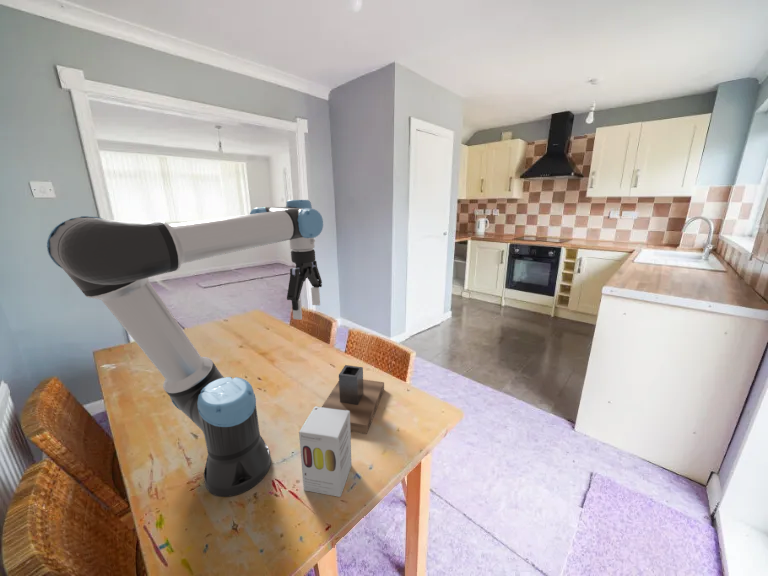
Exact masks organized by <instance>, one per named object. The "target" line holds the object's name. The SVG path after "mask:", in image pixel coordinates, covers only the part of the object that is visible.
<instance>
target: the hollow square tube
mask: <svg viewBox="0 0 768 576" xmlns="http://www.w3.org/2000/svg"><path fill="white" fill-rule="evenodd" d="M363 380H364V367H363V366H355V365H349V364H348V365H346V364H345V365H344V366H343V368H342V369H341V370H340V372H339V373H338V381H339V391H340V402H341V403H348V404H354V405H358V404H359V402H360V400H361V398H362V396H363V394H364V393H363Z"/></svg>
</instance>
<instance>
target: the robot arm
mask: <svg viewBox="0 0 768 576" xmlns="http://www.w3.org/2000/svg"><path fill="white" fill-rule="evenodd" d="M323 228H324V219H323V217H322V214H321V213H320V212H319V211H318V210H317V209H314V208H313V207H312V202H311V200H309V199H288V200H287V201H286V205H285V206H268V207H267V206H262V207H254V208H252V210H251V211H250V212H249V214H243V215H235V216H227V217H226V216H225V217H218V218H210V219H204V220H202V219H201V220H195V221H187V222H179V223H170V224H168V223H167V222H165V221H164V220H161V219H157V220H149V221H125V220H124V221H123V220H114V219H108V218H102V217H98V216H92V215H91V216H90V215H82V216H78V217H71V218H69V219H67V220H64V221H62V222H60V223H58V224H56V226H55V227H54V228H53V229H52V230H51V232H50V233H49V234H48V237H47V241H46V248H47V254H48V255H49V258H50V259H51V260H52V262H53V263H54V264H55V265H56V266H58V267H59V268H61V269H63V270H64V272H65V273H66V275H68V276H69V278H70V279H71V281H72V282H74V284H75V285H76V287H78V289H79V290H80V291H81V292H82V293H83V295H84V296H85V297H86V298H89V299H96V300H101V301H102V303H103V304H104V305H105V307H106V308H107V309H108V310H109V311H110V312H111V313H112V315H113V316H114V318H115V319H116V320H117V321H118V323H120V325H121V326H122V327H123V329H124V330H125V331H126V332H127V334H128V335H129V336H131V338H132V339H133V341H134V342H135V344H136V345H137V346H138V347H139V348H140V349H141V350H142V352H143V354H145V356H146V357H147V358H148V360H149V361H151V363H152V364H153V365H154V366H155V368H156V369H157V370H158V372H159V373H160V374H161V375H162V377H163V378H164V381H163V384H162V385H163V386H162V388H163V390H164V391H165V393H166V394H167V395H168V396H169V398H170V400H171V402H172V404H173V405H174V406H175V407H176V408H177V409H178V410H180V411H181V412H182V413H183V414H185V416H187V417H188V418H189V420H191V421H192V422H193V423H194V424H195V425H196V426H197V427H198V428H199V429H200V430H201V431H202V433H203V435H204V441H205V445H206V450H207V458H206V462H205V467H204V470H203V480H204V484H205V487H206V489H207V491H208V492H209V493H210V494H212V495H214V496H217V497H225V498H227V497H233V496H237V495H240V494H243V493H245V492H247V491H249V490H250V489H252V488H254V487H255V486H257V485H258V484H259V483H260V482H261V481H262V480H263V478H264V477H265V476H266V475H267V473H268V472H269V470H270V467H271V464H272V457H271V451H270V447H269V446H268V445H267V443H266V442H265V440H264V439H263V437H262V435H261V433H260V424H259V416H258V410H257V398H256V394H255V393H254V389H253V386H252V384H251V383H250V382H249V381H247V379H244V378H242V377H239V376H238V377H237V376H235V377H232V376H226V377H224V376H223V375H222V373H221V372H220V370H219V368H218V367H217V366H216V364H215V363H214V362H213V360H212V359H211V358H210V357H208V356H201V355H200V353H199V352H198V350H197V349H196V348H195V346H194V344H193V342H192V340H190V338H189V337H188V336H187V334H186V333H185V331H184V330H183V328H182V327H181V325H180V324H179V322H178V321H177V319H176V318H175V317H174V316H173V314H172V313H171V311H170V309H169V308H168V307H167V305H166V303H165V302H164V300H163V299H162V298H161V296H160V295H159V293H158V292H157V291H156V289H155V288H154V286H153V285H152V283H151V281H149V278H151V277H155V276H156V277H157V276H159V275H165V274H168V273H171V272H176V271H178V270H179V269H180V268H181V266H182V265H183V264H186V263H191V262H195V261H200V260H204V259H209V258H213V257H219V256H222V255H226V254H227V255H228V254H232V253H236V252H237V253H238V252H240V251H245V250H250V249H253V248H254V249H255V248H259V247H262V246H263V247H264V246H268V245H272V244H273V245H274V244H276V243H281V242H284V241H285V242H286V241H289V248H290V250H291V251H290V257H291V262H292V263H294V264H295V267H290V268H289V281H288V288H287V295H286V300H287V301H291V309H292V317H293V320H300V321H301V320H303V312H302V302H301V301H302V300H301V299H300V296H301V293H302V289H303V285H304V283H305V282H306V280H308V281H309V283H310V284H311V288H310V290H311V291H310V292H311V302H312V306H321V298H320V297H321V296H320V295H321V294H320V288H322V287H323V280H322V278H321V274H320V271H319V267H318V264H317V260H316V251H315V242H316V240H315V238H316V237H318V236H320V235H321V233H322V232H323Z"/></svg>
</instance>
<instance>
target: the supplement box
mask: <svg viewBox="0 0 768 576" xmlns="http://www.w3.org/2000/svg"><path fill="white" fill-rule="evenodd" d="M351 432H352V431H351V430H350V411H348V410H338V409H330V408H324V407H322V406H316V405H315V406H314V407H313V408H312V410H311V412H309V415H308V417H307V418H306V420H305V422H304V424H302V426H301V428H300V430H299V432H298V434H299V447H300V448H299V449H300V458H301V459H300V460H301V462H300V463H301V471H302V487H303V491H306V492H312V493H318V494H322V495H328V496H332V497H333V496H335V497H337V498H340V497H341V496H342V495H343V492H344V489H345V486H346V483H347V479H348V478H349V474H350V472H351V468H352V465H353V463H352V442H351V441H352V433H351Z"/></svg>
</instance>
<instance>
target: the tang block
mask: <svg viewBox="0 0 768 576" xmlns="http://www.w3.org/2000/svg"><path fill="white" fill-rule="evenodd" d="M384 391H385V382H384V381H377V380H370V379H369V380H368V379H363V393H364V394H363V396H362V398H361V400H360V402H359V404H358V405H354V404H348V403H341V402H340V391H339V380H338V381H337V383H336V385H335V386H334V388H333V389H332V390H331V392H330V394H329V395H328V397H327V398H326V399H325V401H324V403H323V404H322V406H321V407H324V408H330V409H338V410H348V411H350V430H351V432H353V433H354V432H356V433H360V434H365V435H367V434H368V431H369V429H370V427H371V424H372V422H373V419H374V416H375V414H376V411H377V409H378V406H379V404H380V402H381V399H382V396H383V394H384Z"/></svg>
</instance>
